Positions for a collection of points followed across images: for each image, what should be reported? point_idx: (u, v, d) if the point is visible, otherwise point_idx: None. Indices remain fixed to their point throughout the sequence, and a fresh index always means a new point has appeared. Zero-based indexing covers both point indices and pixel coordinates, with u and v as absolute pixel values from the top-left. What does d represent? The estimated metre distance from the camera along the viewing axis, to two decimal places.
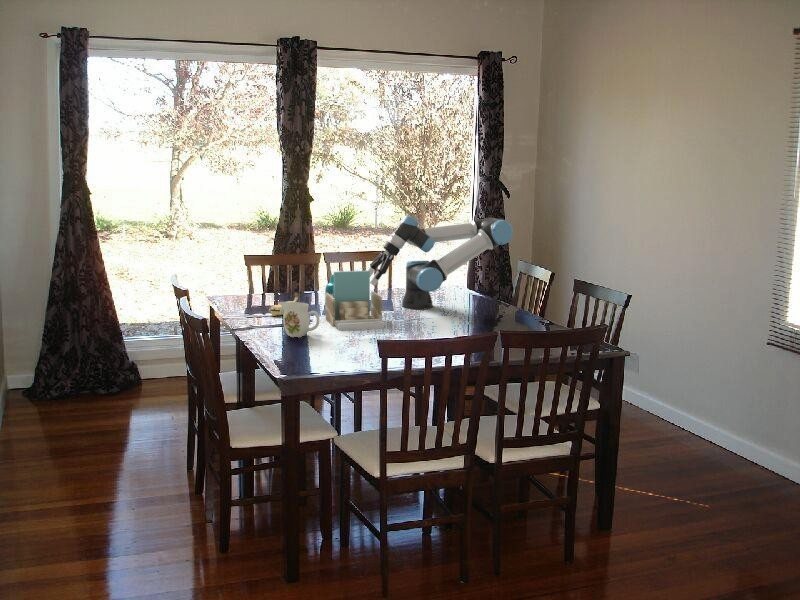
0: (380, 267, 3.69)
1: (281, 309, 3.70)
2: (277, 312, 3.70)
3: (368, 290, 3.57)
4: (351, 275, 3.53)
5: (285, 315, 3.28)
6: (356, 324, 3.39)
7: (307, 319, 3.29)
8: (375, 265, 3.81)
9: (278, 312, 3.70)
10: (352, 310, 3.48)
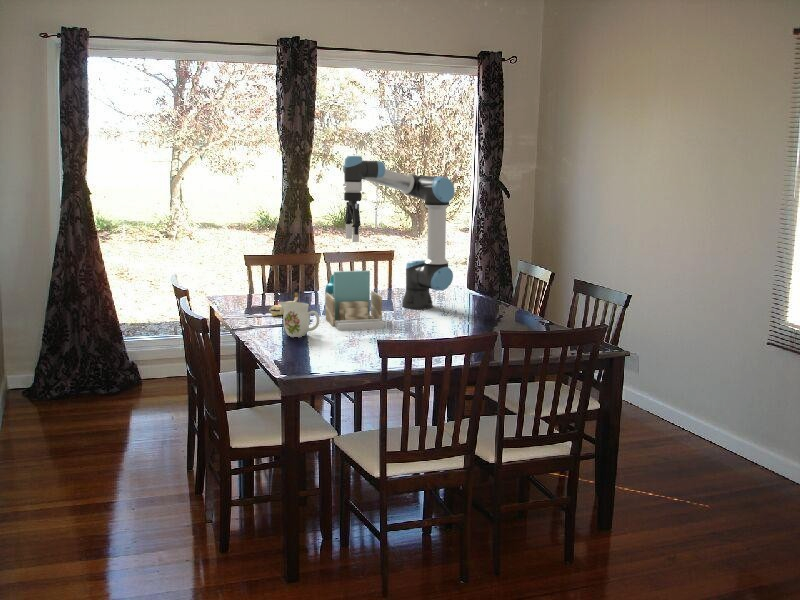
0: (353, 221, 3.44)
1: (281, 309, 3.70)
2: (277, 312, 3.70)
3: (368, 290, 3.57)
4: (351, 275, 3.53)
5: (285, 315, 3.28)
6: (356, 324, 3.39)
7: (307, 319, 3.29)
8: (349, 219, 3.56)
9: (278, 312, 3.70)
10: (352, 310, 3.48)
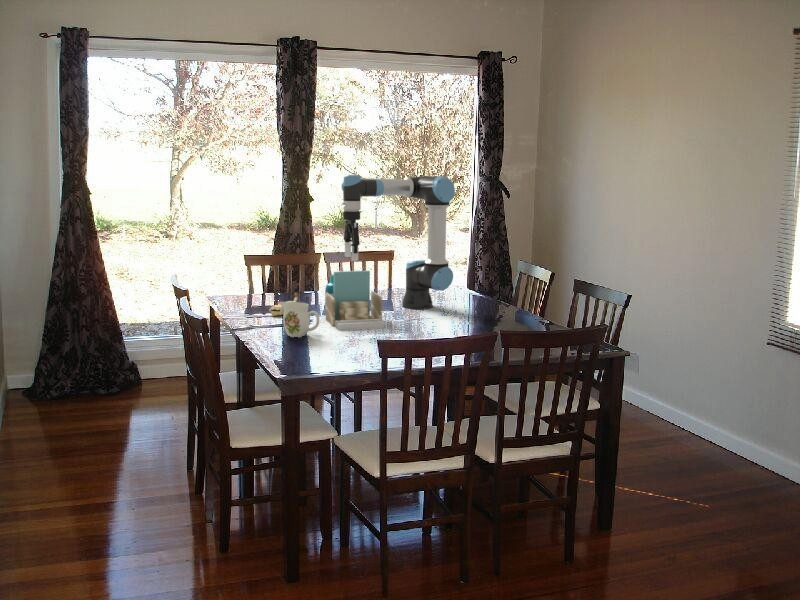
0: (352, 240, 3.45)
1: (281, 309, 3.70)
2: (277, 312, 3.70)
3: (368, 290, 3.57)
4: (351, 275, 3.53)
5: (285, 315, 3.28)
6: (356, 324, 3.39)
7: (307, 319, 3.29)
8: (348, 238, 3.56)
9: (278, 312, 3.70)
10: (352, 310, 3.48)
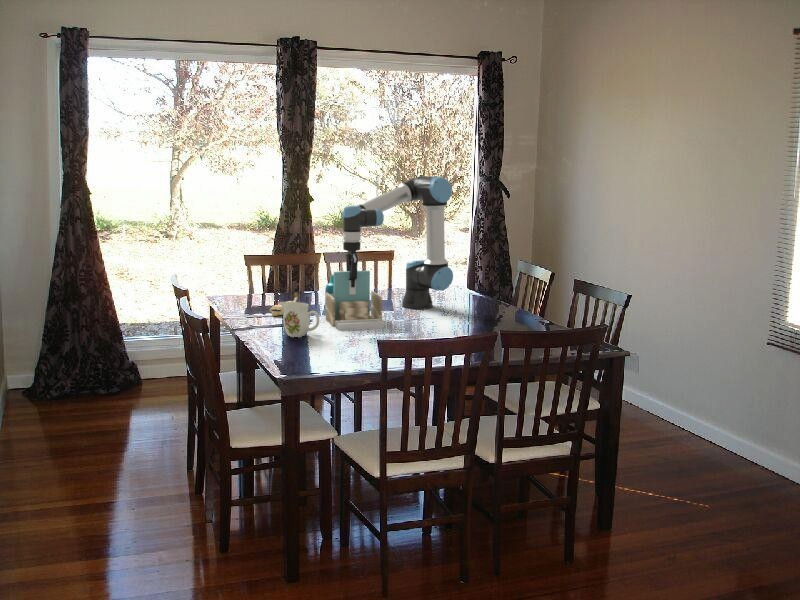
0: (350, 274, 3.52)
1: (282, 309, 3.71)
2: (278, 312, 3.70)
3: (368, 290, 3.57)
4: None
5: (285, 315, 3.28)
6: (356, 324, 3.39)
7: (307, 319, 3.29)
8: None
9: (279, 312, 3.70)
10: (352, 310, 3.48)
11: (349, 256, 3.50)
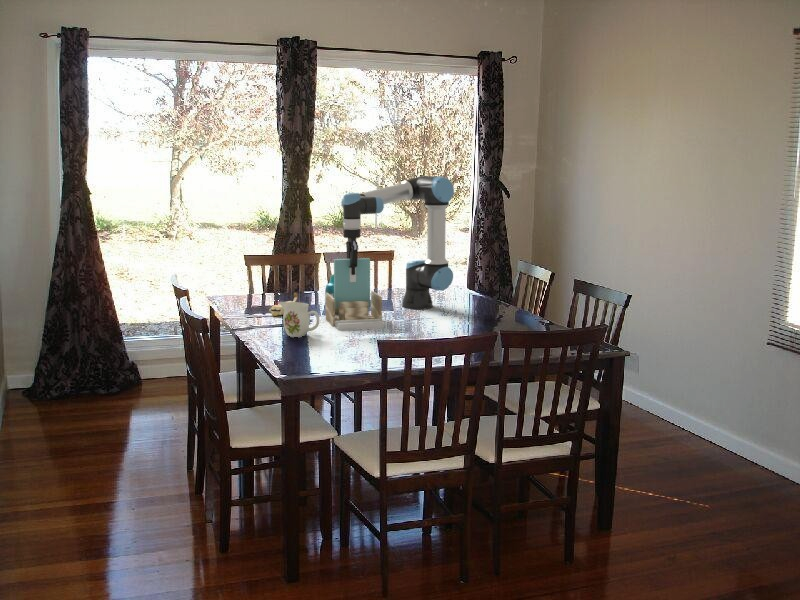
0: (350, 261, 3.51)
1: (282, 309, 3.71)
2: (278, 312, 3.70)
3: (368, 278, 3.56)
4: None
5: (285, 315, 3.28)
6: (356, 324, 3.39)
7: (307, 319, 3.29)
8: None
9: (279, 312, 3.70)
10: (352, 310, 3.48)
11: (349, 243, 3.49)
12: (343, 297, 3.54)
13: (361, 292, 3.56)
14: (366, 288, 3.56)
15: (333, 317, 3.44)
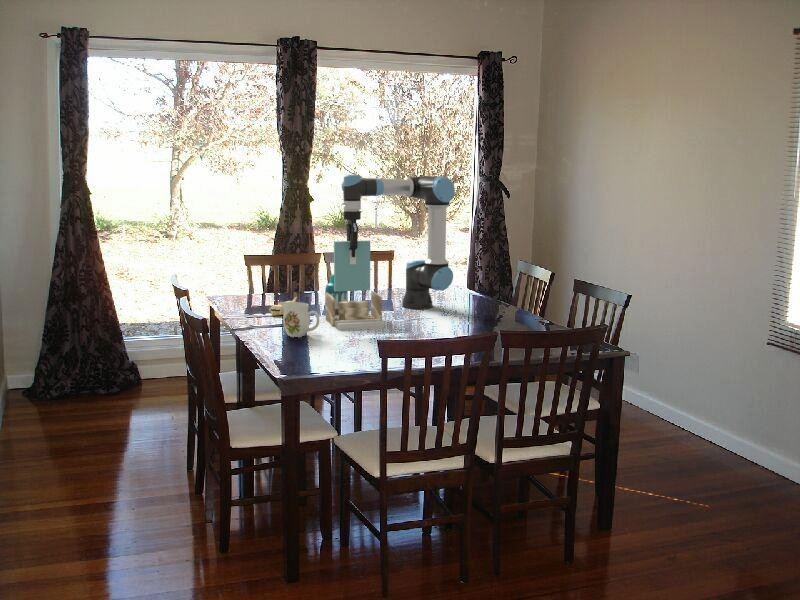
0: (350, 243, 3.49)
1: (281, 309, 3.71)
2: (277, 312, 3.70)
3: (368, 260, 3.54)
4: None
5: (285, 315, 3.28)
6: (356, 324, 3.39)
7: (307, 319, 3.29)
8: None
9: (278, 312, 3.70)
10: (352, 310, 3.48)
11: (349, 225, 3.48)
12: (343, 279, 3.52)
13: (361, 275, 3.54)
14: (366, 271, 3.55)
15: (333, 317, 3.44)
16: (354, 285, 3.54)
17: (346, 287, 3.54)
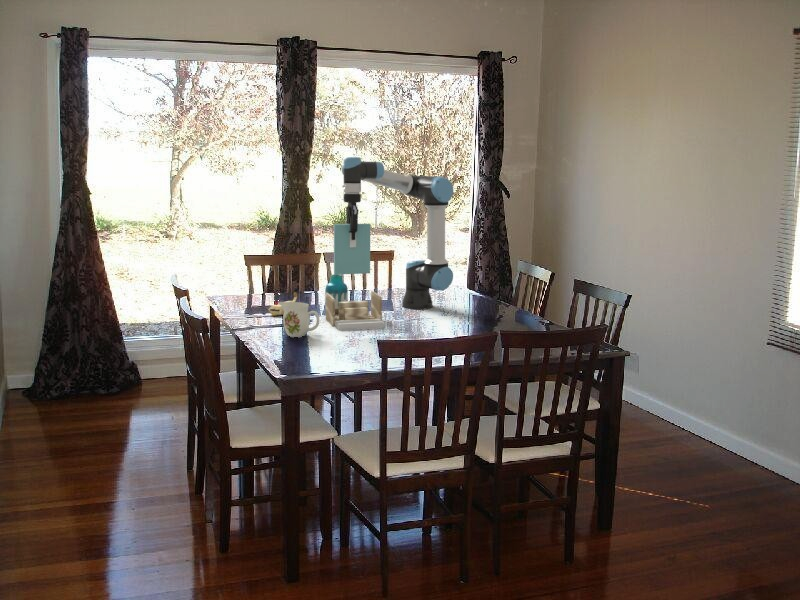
0: (350, 226, 3.48)
1: (281, 309, 3.71)
2: (277, 312, 3.71)
3: (368, 243, 3.53)
4: None
5: (285, 315, 3.28)
6: (356, 324, 3.39)
7: (307, 319, 3.29)
8: None
9: (278, 312, 3.70)
10: (352, 310, 3.48)
11: (349, 208, 3.46)
12: (343, 262, 3.51)
13: (361, 258, 3.53)
14: (366, 254, 3.53)
15: (333, 317, 3.44)
16: (354, 268, 3.53)
17: (346, 270, 3.52)
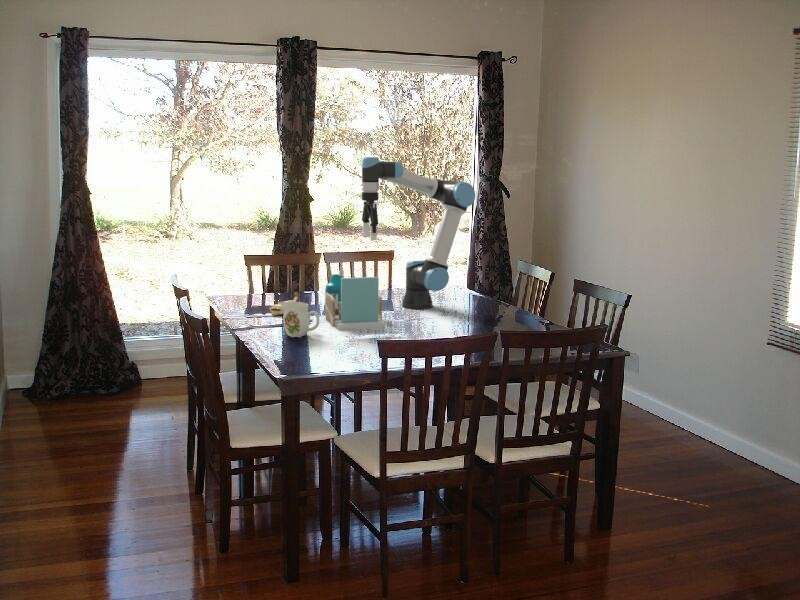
0: (371, 220, 3.57)
1: (282, 308, 3.72)
2: (278, 311, 3.71)
3: (377, 297, 3.43)
4: (359, 281, 3.39)
5: (285, 315, 3.28)
6: (356, 324, 3.39)
7: (307, 319, 3.29)
8: (366, 218, 3.69)
9: (279, 311, 3.71)
10: None
11: (367, 205, 3.60)
12: (350, 317, 3.41)
13: (369, 312, 3.43)
14: (374, 308, 3.43)
15: (333, 317, 3.44)
16: None
17: None
